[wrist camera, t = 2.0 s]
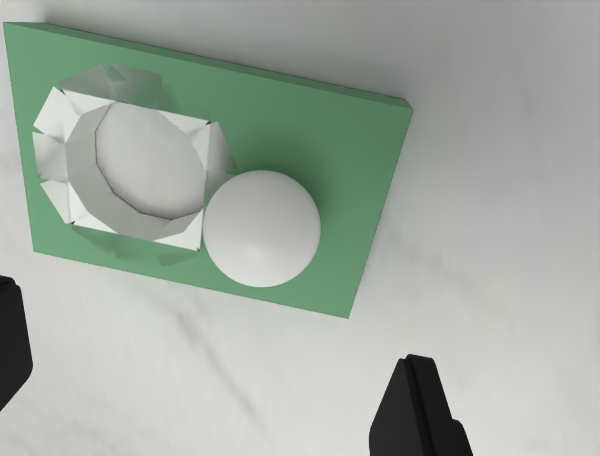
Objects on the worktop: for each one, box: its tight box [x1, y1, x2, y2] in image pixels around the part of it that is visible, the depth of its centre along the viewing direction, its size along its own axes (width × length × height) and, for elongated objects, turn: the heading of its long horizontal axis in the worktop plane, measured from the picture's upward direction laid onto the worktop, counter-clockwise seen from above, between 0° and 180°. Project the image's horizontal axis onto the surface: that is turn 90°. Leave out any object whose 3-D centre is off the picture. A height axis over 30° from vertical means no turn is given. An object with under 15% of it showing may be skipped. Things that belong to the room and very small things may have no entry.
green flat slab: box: [3, 22, 413, 319], centre depth 20 cm, size 17×11×2 cm, turn 79°
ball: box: [203, 170, 321, 287], centre depth 17 cm, size 5×5×5 cm
